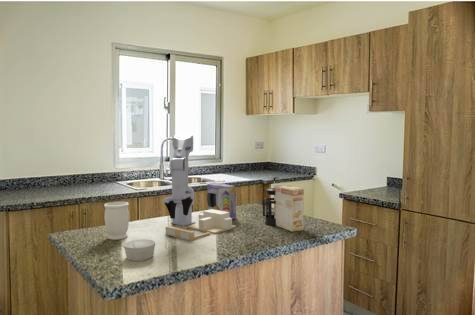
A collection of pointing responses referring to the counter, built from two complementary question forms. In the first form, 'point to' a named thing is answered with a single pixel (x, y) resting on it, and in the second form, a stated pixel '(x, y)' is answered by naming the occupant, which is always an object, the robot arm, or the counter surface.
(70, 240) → the counter surface
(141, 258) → the ramekin
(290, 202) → the coffeecake box
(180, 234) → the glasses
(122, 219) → the jar
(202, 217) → the stand
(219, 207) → the cake pan box
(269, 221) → the french press
